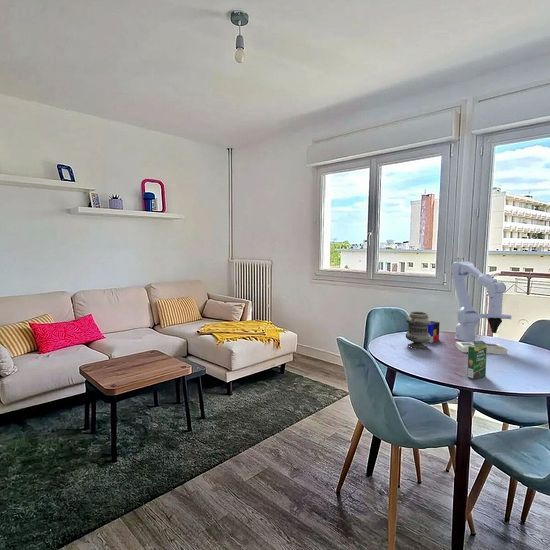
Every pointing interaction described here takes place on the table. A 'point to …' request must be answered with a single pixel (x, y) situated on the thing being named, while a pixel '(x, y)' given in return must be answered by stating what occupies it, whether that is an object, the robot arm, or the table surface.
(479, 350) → the coffee box
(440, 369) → the table surface
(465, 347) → the button board
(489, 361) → the table surface
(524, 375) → the table surface
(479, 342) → the middle button
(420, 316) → the stone vase
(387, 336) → the table surface
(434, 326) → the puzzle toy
